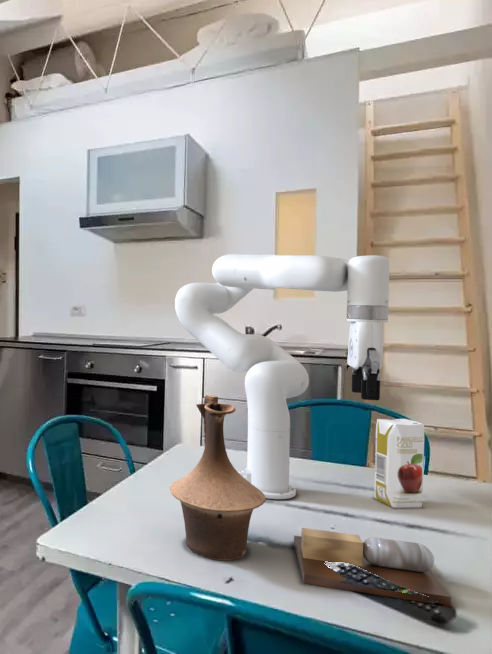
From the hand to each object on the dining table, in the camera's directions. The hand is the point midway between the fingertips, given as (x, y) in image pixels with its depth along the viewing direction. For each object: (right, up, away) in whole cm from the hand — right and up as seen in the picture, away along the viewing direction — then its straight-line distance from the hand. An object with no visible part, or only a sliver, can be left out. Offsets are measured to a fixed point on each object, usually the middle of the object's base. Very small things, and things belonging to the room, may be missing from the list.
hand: (364, 396), depth 114 cm
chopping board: (-13, -27, -22) cm, 37 cm away
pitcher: (-36, -26, -14) cm, 46 cm away
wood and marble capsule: (-13, -25, -23) cm, 36 cm away
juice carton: (+14, -26, +11) cm, 32 cm away
